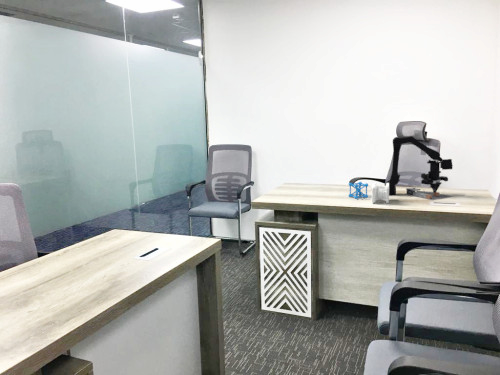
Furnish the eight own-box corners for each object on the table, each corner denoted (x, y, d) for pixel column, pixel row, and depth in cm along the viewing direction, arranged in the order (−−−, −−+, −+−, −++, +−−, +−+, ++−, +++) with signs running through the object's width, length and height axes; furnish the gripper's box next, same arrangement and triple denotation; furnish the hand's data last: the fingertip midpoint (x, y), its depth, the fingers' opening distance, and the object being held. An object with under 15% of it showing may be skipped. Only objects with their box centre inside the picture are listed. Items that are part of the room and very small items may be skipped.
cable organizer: (388, 204, 252) (389, 186, 250) (371, 204, 255) (371, 185, 253) (388, 199, 266) (389, 182, 264) (372, 199, 269) (372, 182, 267)
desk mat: (432, 201, 257) (432, 200, 257) (402, 194, 280) (402, 193, 280) (454, 197, 266) (454, 196, 265) (423, 191, 288) (423, 190, 288)
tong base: (406, 194, 278) (406, 187, 278) (412, 193, 281) (412, 186, 280) (429, 199, 261) (429, 191, 260) (435, 198, 263) (435, 190, 262)
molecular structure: (347, 196, 280) (347, 182, 278) (360, 195, 283) (360, 181, 281) (355, 199, 271) (355, 184, 269) (368, 198, 273) (369, 183, 272)
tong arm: (416, 194, 275) (416, 191, 275) (417, 194, 277) (417, 190, 277) (438, 196, 267) (438, 192, 267) (439, 195, 269) (439, 192, 268)
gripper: (434, 167, 279) (434, 189, 282) (414, 170, 272) (414, 193, 274) (448, 168, 269) (448, 191, 272) (428, 172, 262) (428, 195, 264)
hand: (434, 193), depth 271 cm, fingers closed
